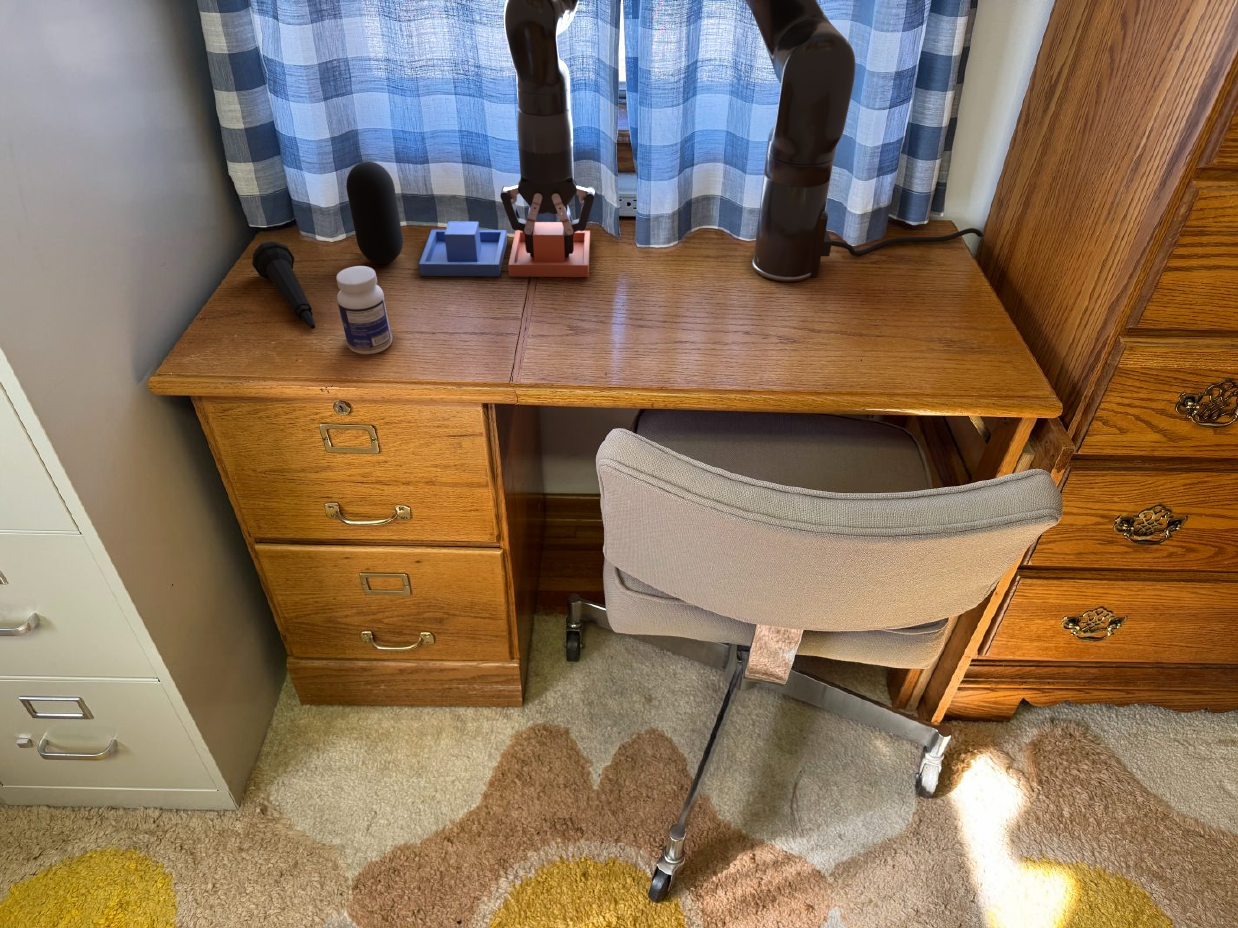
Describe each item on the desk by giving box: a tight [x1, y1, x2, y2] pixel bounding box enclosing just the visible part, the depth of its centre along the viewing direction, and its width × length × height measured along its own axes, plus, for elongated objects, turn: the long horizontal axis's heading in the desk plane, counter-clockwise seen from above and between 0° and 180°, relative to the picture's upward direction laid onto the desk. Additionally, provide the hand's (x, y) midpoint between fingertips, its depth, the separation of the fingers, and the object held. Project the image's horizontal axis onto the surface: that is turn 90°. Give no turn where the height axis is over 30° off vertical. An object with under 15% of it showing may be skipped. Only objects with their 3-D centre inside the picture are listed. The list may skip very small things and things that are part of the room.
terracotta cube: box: [533, 221, 565, 263], centre depth 127 cm, size 4×4×4 cm
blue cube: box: [444, 220, 481, 262], centre depth 127 cm, size 4×4×4 cm
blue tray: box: [418, 229, 508, 277], centre depth 128 cm, size 12×12×2 cm
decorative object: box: [345, 161, 404, 265], centre depth 123 cm, size 7×7×15 cm
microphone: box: [251, 240, 316, 330], centre depth 118 cm, size 6×6×20 cm
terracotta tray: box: [507, 230, 591, 278], centre depth 128 cm, size 12×12×2 cm
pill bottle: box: [336, 265, 393, 355], centre depth 107 cm, size 6×6×10 cm
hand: (550, 254), depth 129 cm, fingers closed on terracotta cube, 4 cm apart
